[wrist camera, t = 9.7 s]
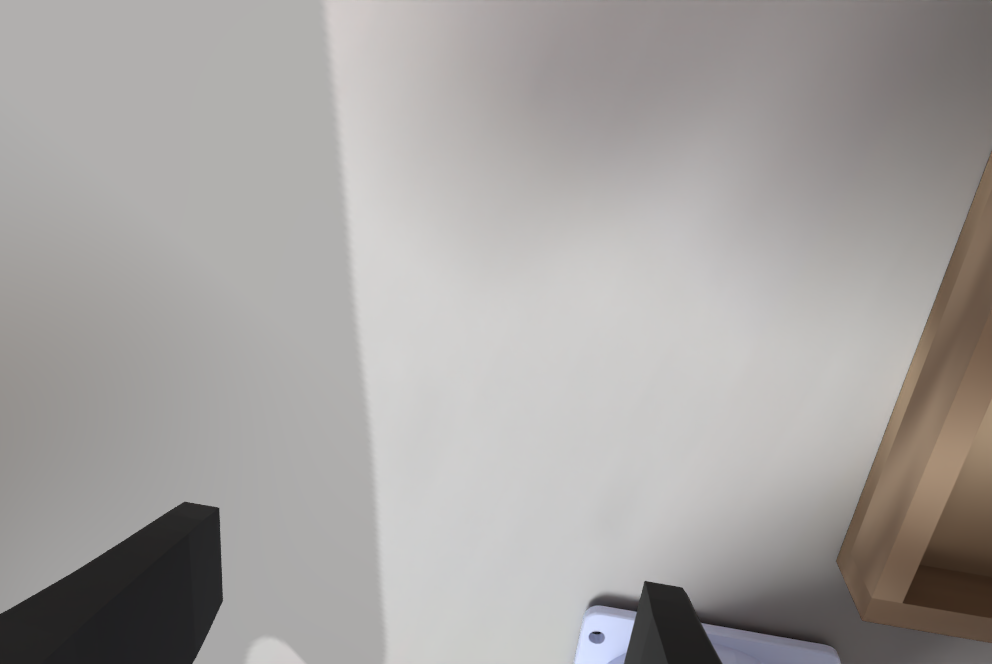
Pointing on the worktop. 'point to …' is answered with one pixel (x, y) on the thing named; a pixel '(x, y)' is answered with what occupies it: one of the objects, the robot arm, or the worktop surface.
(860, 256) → the worktop surface
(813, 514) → the worktop surface
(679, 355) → the worktop surface
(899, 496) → the walnut tray
